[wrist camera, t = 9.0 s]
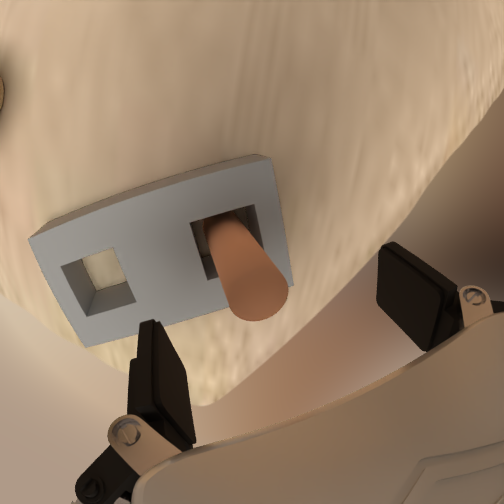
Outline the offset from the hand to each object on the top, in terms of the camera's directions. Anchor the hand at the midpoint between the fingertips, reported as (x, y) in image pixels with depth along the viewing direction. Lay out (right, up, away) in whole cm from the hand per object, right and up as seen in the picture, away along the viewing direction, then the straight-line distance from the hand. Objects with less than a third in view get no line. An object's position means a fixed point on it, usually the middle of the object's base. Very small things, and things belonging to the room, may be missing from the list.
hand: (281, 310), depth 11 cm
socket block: (-8, +3, +12) cm, 15 cm away
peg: (-4, +4, +12) cm, 14 cm away
